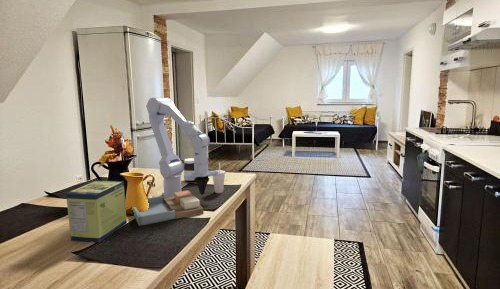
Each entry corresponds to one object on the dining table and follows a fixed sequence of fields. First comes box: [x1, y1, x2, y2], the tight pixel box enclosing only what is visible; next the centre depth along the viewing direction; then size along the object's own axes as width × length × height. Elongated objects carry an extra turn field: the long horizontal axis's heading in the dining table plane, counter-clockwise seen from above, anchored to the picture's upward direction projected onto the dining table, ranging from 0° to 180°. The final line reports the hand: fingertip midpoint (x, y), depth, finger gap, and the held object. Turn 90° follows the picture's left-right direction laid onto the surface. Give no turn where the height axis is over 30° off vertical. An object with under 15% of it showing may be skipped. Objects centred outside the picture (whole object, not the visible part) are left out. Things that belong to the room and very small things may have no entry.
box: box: [133, 195, 176, 227], centre depth 121 cm, size 20×13×3 cm, turn 28°
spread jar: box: [183, 157, 196, 184], centre depth 164 cm, size 12×11×12 cm
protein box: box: [65, 179, 128, 243], centre depth 104 cm, size 10×16×16 cm
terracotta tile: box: [174, 190, 194, 202], centre depth 131 cm, size 6×6×2 cm
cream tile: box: [180, 195, 201, 209], centre depth 123 cm, size 6×6×2 cm
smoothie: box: [212, 162, 226, 194], centre depth 145 cm, size 6×6×14 cm
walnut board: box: [163, 197, 204, 220], centre depth 126 cm, size 20×10×2 cm, turn 28°
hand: (202, 193), depth 134 cm, fingers closed
